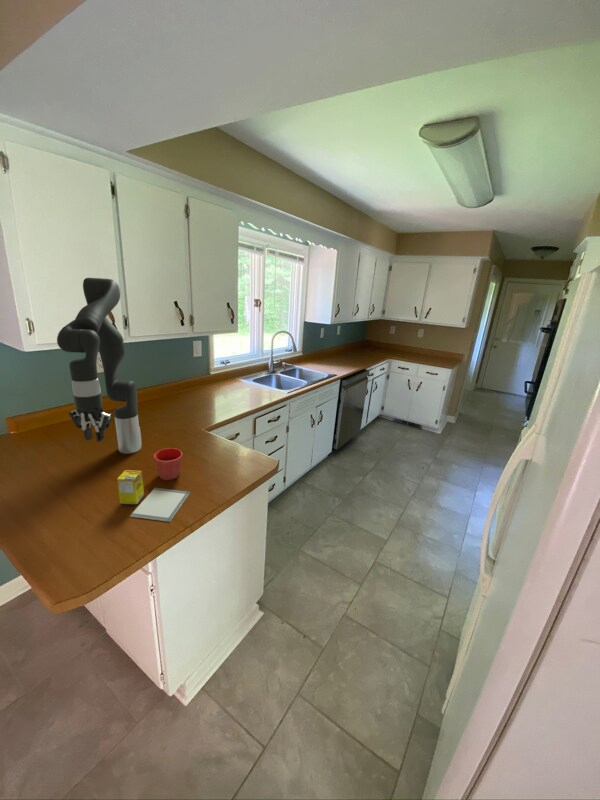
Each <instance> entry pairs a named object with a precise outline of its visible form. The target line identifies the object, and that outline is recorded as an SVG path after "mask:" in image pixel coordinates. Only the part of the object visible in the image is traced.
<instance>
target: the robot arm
mask: <svg viewBox="0 0 600 800" xmlns="http://www.w3.org/2000/svg"><path fill="white" fill-rule="evenodd" d="M82 289H83V295H84V297H85V298H84V299H85V300H86V301H85V302H86V305H84V306H83V307H82V308H81V309H80V310H79V312H78V313H77V315H76V316H75V319H73V320H72V321H70V322H69V323H67V324H66V325H65V326H63V327H62V328H61V329H60V330H59V332H58V333H57V337H56V343H57V346H58V347H59V348H60V349H61V350H62V351H63V352H66V353H80V354H81V353H85V356H84V357H82V358H79V359H74V360H71V361H70V362H69V372H70V378H71V390H72V394H73V401H74V406H75V408H76V409H73V410H71V411H69V412H68V415H69V416H70V418H71V420H72V422H73V423H74V425H75V427H76V428H77V429H81V430H82V431H83V434H84V435H83V437H84V439H85V440H86V441H91V440H92V439H93V432H92V428H91V426H93V427H94V431H95V436H96V442H99V443H100V442H102V441H103V440H104V439H105V433H104V432H105V431H106V430H108V429H109V427H110V424H111V421H112V419H113V416H114V423H115V429H116V430H115V431H116V439H117V445H118V452H119V453H121V454H124V455H125V454H126V455H127V454H128V455H129V454H133V453H137V452H138V451H140V450H141V449H142V446H143V445H142V434H141V427H140V424H139V423H140V422H139V412H138V406H139V405H138V392H137V384H136V382H135V381H133V380H124V379H123V380H120V379H118V378H117V370H118V368H119V366H120V364H121V363H122V361H123V359H124V357H125V356H126V355H125V354H126V348H125V342H124V339H123V335H122V334H121V332H120V331H119V329H117V327H116V326H115V325H114V324H112V322H111V321H110V320H109V319H108V317H107V316H109V314H110V313H111V312H112V311H113V309H114V308H115V307H116V306H117V305H118V303H119V301H120V299H121V291H120V290H121V289H120V286H119V283H118V282H117V280H114V279H111V278H101V277H99V278H98V277H85V278H84V279H83V281H82ZM98 354H99V356H100V360H101V364H102V369H103V375H104V383H105V384H104V385H105V391H106V395H107V398H108V399H109V400H110V401H111V402H125V403H126V404H124V405H122V406H118V407H117V408H115V409H114V411H113V413H111V412H110V413H106V412H105V411H104V409H103V394H102V389H101V383H100V380H99V379H100V378H99V375H98V367H97V364H98V363H97V362H98ZM113 414H114V415H113ZM91 424H92V425H91Z"/></svg>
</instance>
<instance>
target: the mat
mask: <svg viewBox="0 0 600 800" xmlns="http://www.w3.org/2000/svg"><path fill="white" fill-rule="evenodd" d="M190 494H191V492H190V491H184V490H177V489H167V488H161V487H154V488H153V489H152V490H151V491H150V493H149V494H147V496H146V497H145V498H144V499H143V500H142V501H141V502H140V503H139V504H138V505H137V506H136V507H135V510H134V511H133V512H131V514H130V517H132V518H137V519H138V518H139V519H146V520H152V521H161V522H167V523H171V522H172V520H173V519H174V517H175V516H176V514H177V512H179V510H180V508H182V505H183V504H184V502H185V501H186V500H187V499H188V497H189V495H190Z"/></svg>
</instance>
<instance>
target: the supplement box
mask: <svg viewBox="0 0 600 800" xmlns="http://www.w3.org/2000/svg"><path fill="white" fill-rule="evenodd" d="M143 479H144V478H143V473H142V470H135V469H134V470H132V469H125V470H123V472H122V473H121V474H120V475H119V476H118V478H117V479H116V483H117V489H118V496H119V504H120V505H121V506H132V507H133V506H136V507H138V506H139V505H140V503H141V502H142V501H143V498H144V497H145V491H144V490H145V489H144V480H143Z"/></svg>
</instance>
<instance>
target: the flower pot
mask: <svg viewBox="0 0 600 800" xmlns="http://www.w3.org/2000/svg"><path fill="white" fill-rule="evenodd" d="M153 456H154V457H153V458H154V462H155V463H154V464H155V466H156V470H157V473H158V476H159V478H160V479H162V480H165V481H168V480H174V479H175V478H178V477H179V475H180V473H181V472H180V471H181V468H182V467H181V466H182V460H183V452H182V450H180V449H178V448H175V447H168V448H167V447H166V448H163V449H160V450H158V451H157V452H155V453H154V455H153Z"/></svg>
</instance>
